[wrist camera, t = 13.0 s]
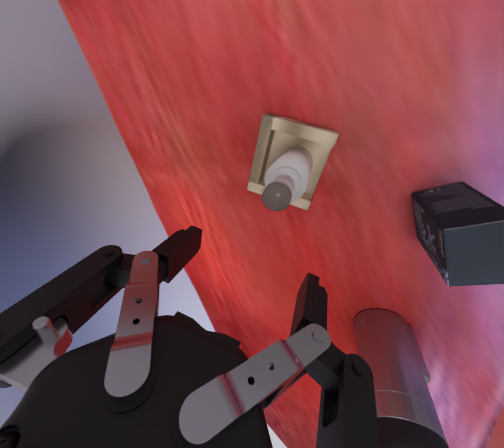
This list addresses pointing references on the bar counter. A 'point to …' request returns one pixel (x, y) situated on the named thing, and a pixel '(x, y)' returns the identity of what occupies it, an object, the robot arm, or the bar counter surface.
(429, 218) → the box
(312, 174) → the rest
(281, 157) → the bottle
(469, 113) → the bar counter surface
